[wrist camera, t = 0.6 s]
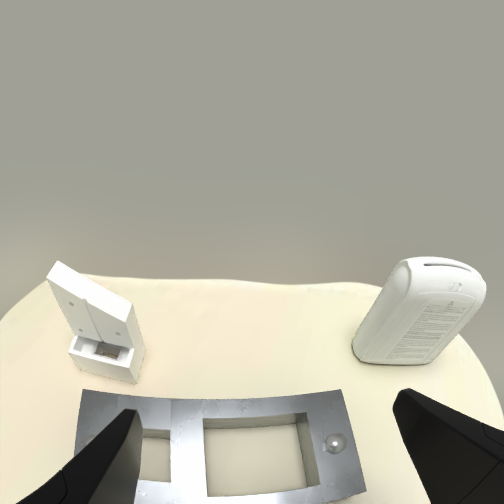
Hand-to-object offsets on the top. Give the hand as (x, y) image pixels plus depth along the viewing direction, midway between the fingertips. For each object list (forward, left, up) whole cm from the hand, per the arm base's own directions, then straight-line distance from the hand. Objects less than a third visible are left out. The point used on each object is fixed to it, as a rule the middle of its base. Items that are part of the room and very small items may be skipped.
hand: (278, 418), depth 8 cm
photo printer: (+10, -17, -15) cm, 24 cm away
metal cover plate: (+1, +2, -14) cm, 14 cm away
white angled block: (+10, +11, -15) cm, 21 cm away
